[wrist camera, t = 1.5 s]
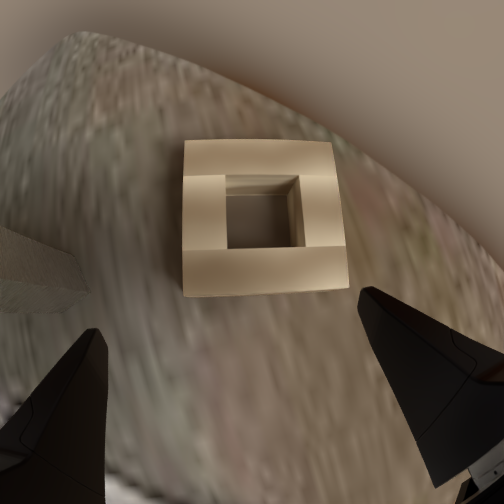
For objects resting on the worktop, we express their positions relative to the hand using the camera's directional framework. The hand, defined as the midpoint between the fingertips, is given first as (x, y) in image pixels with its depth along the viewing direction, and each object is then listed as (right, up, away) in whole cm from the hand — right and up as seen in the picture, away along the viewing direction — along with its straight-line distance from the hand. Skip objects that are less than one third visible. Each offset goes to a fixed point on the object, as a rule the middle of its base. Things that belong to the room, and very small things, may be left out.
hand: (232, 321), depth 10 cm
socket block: (+1, +4, +15) cm, 16 cm away
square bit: (-15, -1, +13) cm, 20 cm away
